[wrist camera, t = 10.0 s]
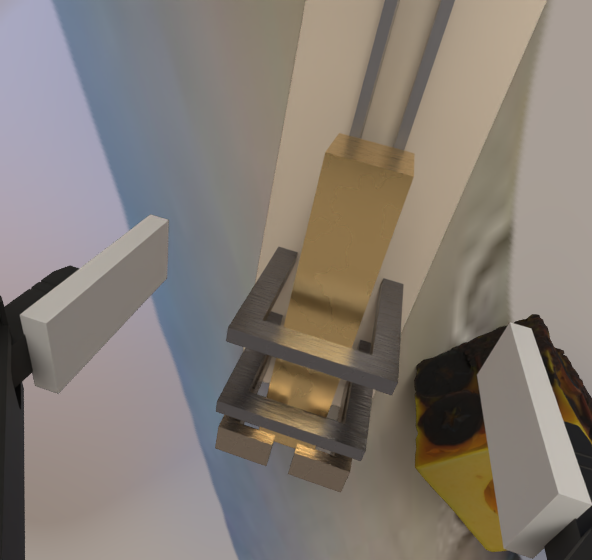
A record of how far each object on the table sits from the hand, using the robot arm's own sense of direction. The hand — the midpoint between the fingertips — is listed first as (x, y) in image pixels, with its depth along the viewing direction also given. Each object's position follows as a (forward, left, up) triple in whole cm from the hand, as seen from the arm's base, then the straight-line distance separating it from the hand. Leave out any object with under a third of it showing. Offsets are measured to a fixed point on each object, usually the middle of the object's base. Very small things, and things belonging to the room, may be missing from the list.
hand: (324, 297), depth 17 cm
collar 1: (+7, 0, -15) cm, 16 cm away
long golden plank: (+8, 0, -12) cm, 14 cm away
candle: (+13, +15, -15) cm, 25 cm away
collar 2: (+13, 0, -15) cm, 20 cm away
